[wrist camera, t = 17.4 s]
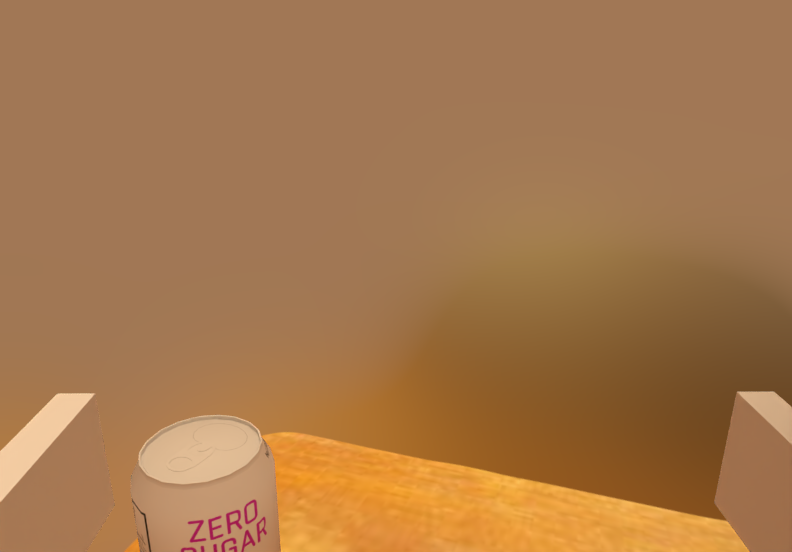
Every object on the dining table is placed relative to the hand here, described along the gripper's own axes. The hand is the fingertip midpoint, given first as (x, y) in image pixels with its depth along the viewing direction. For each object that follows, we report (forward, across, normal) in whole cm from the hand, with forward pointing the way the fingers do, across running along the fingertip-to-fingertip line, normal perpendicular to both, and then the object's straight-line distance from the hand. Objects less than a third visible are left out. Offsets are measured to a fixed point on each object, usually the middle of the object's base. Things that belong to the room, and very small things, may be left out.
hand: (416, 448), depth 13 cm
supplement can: (+21, -12, -29) cm, 38 cm away
